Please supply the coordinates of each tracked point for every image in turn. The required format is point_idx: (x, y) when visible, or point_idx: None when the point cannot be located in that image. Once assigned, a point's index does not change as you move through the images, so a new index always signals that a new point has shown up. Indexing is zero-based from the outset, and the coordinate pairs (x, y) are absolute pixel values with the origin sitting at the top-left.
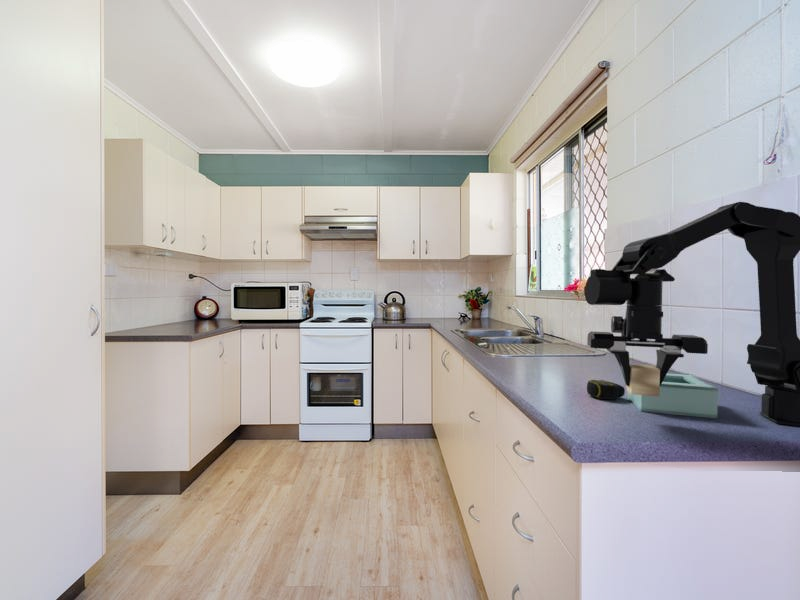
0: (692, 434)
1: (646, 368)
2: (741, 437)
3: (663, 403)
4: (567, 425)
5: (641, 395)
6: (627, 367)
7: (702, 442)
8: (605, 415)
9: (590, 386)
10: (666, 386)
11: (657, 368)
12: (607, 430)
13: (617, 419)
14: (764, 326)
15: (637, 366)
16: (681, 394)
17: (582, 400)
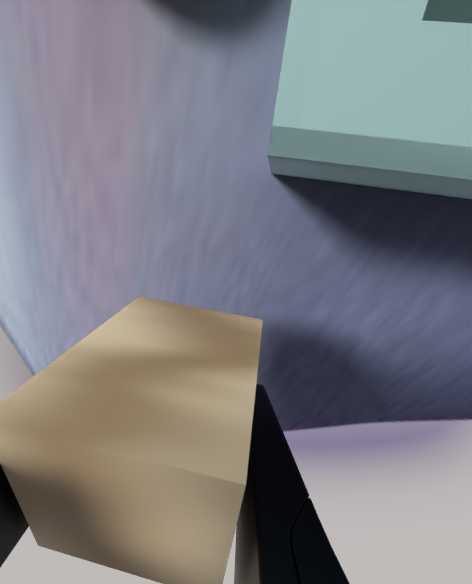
0: (314, 383)
1: (130, 571)
2: (443, 393)
3: (372, 183)
4: (46, 356)
5: (270, 166)
6: (12, 526)
7: (303, 423)
8: (130, 261)
9: None
10: (447, 179)
11: (216, 581)
12: None
13: (159, 295)
14: None
15: (76, 518)
16: None
17: (51, 26)
